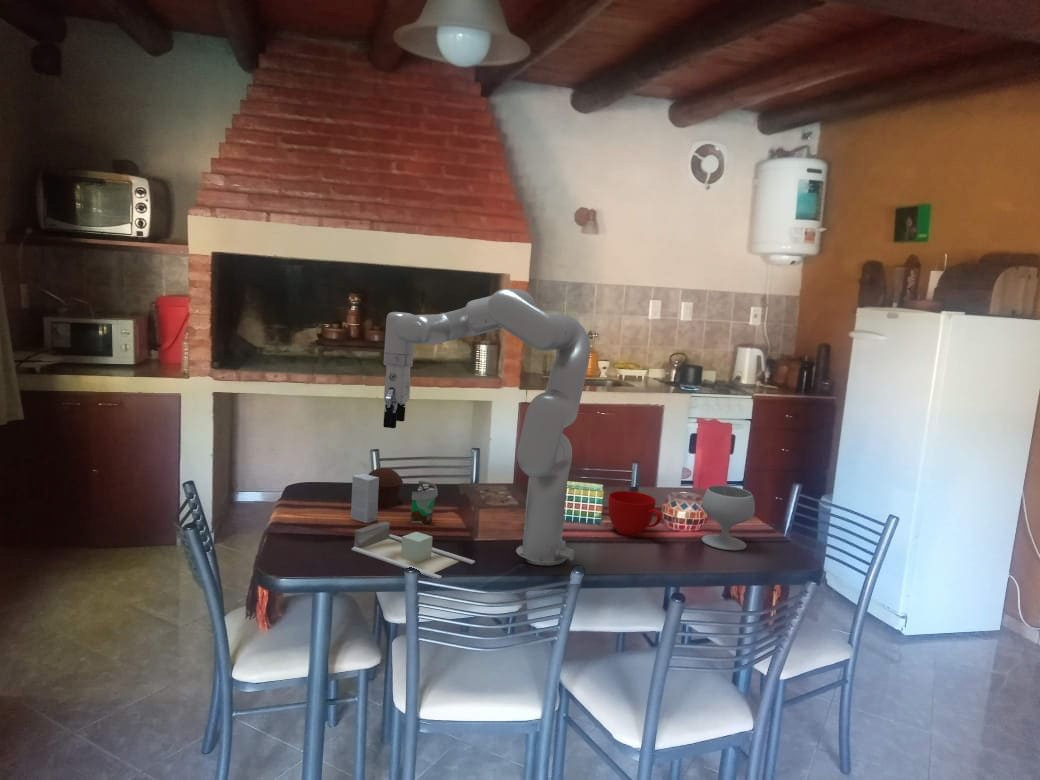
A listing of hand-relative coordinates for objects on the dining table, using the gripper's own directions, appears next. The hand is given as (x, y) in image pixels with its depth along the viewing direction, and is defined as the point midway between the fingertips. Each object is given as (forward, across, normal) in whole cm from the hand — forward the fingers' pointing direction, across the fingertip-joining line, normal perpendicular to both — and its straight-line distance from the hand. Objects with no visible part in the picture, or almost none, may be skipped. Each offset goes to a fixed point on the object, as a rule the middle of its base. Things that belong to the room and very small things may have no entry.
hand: (394, 424), depth 201 cm
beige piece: (+27, -24, -10) cm, 38 cm away
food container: (+27, +4, -10) cm, 29 cm away
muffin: (+28, +17, +6) cm, 33 cm away
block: (+26, -26, -13) cm, 39 cm away
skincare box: (+27, +1, +7) cm, 28 cm away
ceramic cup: (+27, +11, -67) cm, 73 cm away
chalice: (+26, +11, -92) cm, 96 cm away
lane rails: (+27, -25, -12) cm, 39 cm away
